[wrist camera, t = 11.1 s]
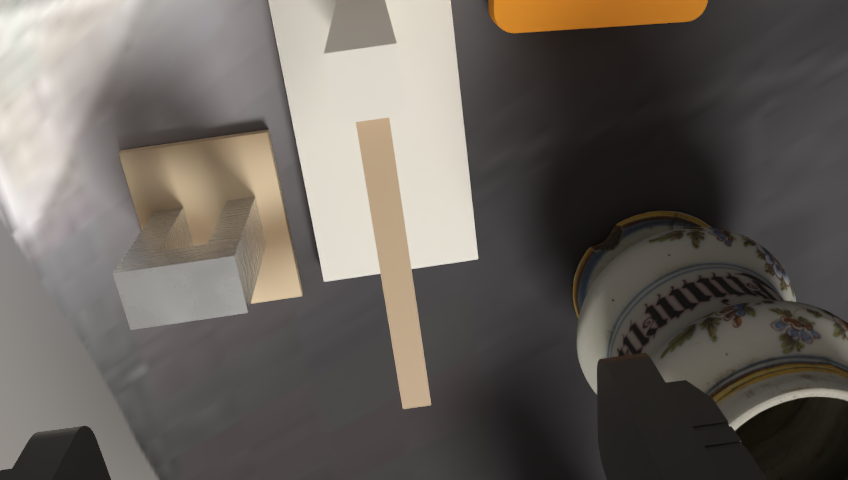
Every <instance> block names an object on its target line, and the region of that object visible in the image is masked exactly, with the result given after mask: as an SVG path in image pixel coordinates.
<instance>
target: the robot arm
mask: <svg viewBox="0 0 848 480" xmlns="http://www.w3.org/2000/svg"><path fill="white" fill-rule="evenodd" d="M597 413H598V444H599V451H600V456H601V461H602V465H603V469H604V472H605V475H606V478H607V480H768V479H767V478H766V476H765V475H764V474H763V472H762V471H761V469H760V468H759V466H758V465H757V463H756V462H755V460H754V459H753V457H752V456H751V454H750V453H749V451H748V450H747V448H746V447H745V446H742V442H741V440H740V438H739V437H738V435H737V434H736V432H735V431H734V429H733V428H732V426H730V427H729V423H728V420H727V419H726V417H725V416H724V414H723V413H722V412H721V410H720V409H719V407H718V406H717V404H716V403H715V401H714V400H713V398H711V397H710V396H708V395H707V394H705V393H704V392H703V391H701V390H700V389H698V388H697V387H695V386H694V385H692V384H691V383H689V382H688V381H686V380H682V381H674V382H667V383H666V382H665V381H664V379H663V377H662V376H661V374H660V372H659V371H658V369H657V367H656V366H655V364H654V363H653V361H652V359H651V358H650V356H649V355H648V354H647V353H640V354H632V355H625V356H617V357H610V358H602V359H599V360H598V364H597ZM0 480H111V478H110V476H109V473H108V470H107V467H106V465H105V462H104V459H103V457H102V453H101V451H100V448H99V445H98V443H97V440H96V437H95V435H94V433H93V431H92V430H91V429H90V428H89V427H87V426H81V427H74V428H66V429H59V430H51V431H44V432H37V433H35V434H34V435H33V436H32V437H31V438H30V440H29V441H28V443H27V444H26V446H25V448H24V449H23V451H22V453H21V455H20V456H19V458H18V460H17V461H16V463H15V465H14V466H13V468H12V469H7V470H1V471H0Z"/></svg>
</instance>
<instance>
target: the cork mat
mask: <svg viewBox="0 0 848 480" xmlns="http://www.w3.org/2000/svg"><path fill="white" fill-rule="evenodd" d="M119 156H120V159H121V163H122V166H123V170H124V173H125V176H126V180H127V183H128V187H129V190H130V193H131V197H132V200H133V204H134V207H135V210H136V214H137V217H138V221H139V224H140V227H141V231H142V229H143V228H144V226H145V225H146V223H147V222H148V220H149V219H150V217H151V216H152V214H153V213H154V211H159V210H166V209H173V208H179V207H184V210H185V214H186V218H187V222H188V225H189V229H190V233H191V237H192V240H193V244H194V246H195V245H202V244H207V243H208V241H209V239H210V237H211V234H212V232H213V230H214V228H215V226H216V223H217V221H218V219H219V217H220V214H221V212H222V210H223V208H224V206H225V203H226V201H228V200H235V199H242V198H249V197H256V201H257V206H258V210H259V215H260V219H261V224H262V228H263V232H264V237H265V241H266V249H265V253H264V256H263V260H262V264H261V267H260V271H259V275H258V278H257V282H256V286H255V289H254V293H253V297H252V300H251V304H252V303H258V302H265V301H272V300H279V299H286V298H292V297H299V296H302V293H303V290H302V285H301V281H300V276H299V271H298V266H297V262H296V257H295V252H294V248H293V243H292V238H291V233H290V229H289V224H288V219H287V214H286V210H285V205H284V200H283V195H282V191H281V186H280V181H279V176H278V172H277V167H276V162H275V158H274V153H273V148H272V143H271V139H270V134H269V129H267V130H260V131H253V132H246V133H239V134H232V135H225V136H218V137H211V138H204V139H197V140H190V141H183V142H176V143H169V144H162V145H155V146H148V147H141V148H134V149H127V150H122V151H121V152H120V153H119Z"/></svg>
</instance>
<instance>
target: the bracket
mask: <svg viewBox="0 0 848 480" xmlns="http://www.w3.org/2000/svg"><path fill="white" fill-rule="evenodd" d="M707 3H708V0H488V6H489V14H490V17H491V19H492V20H493V22H494V23H495V24H497V25H498V26H499V27H500V28H501V29H503V30H504V31H506V32H509V33H525V32H540V31H555V30H570V29H586V28H601V27H616V26H631V25H646V24H661V23H676V22H688V21H692V20H694V19H696V18H698V17H699V16H700V15H701V14H702V13H703V11H704V10H705V8H706V6H707Z"/></svg>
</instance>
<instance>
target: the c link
mask: <svg viewBox="0 0 848 480" xmlns="http://www.w3.org/2000/svg"><path fill="white" fill-rule="evenodd" d="M265 249H266V241H265V237H264V232H263V228H262V224H261V219H260V215H259V210H258V206H257V201H256V197H249V198H242V199H235V200H228V201H226V203H225V206H224V208H223V210H222V212H221V214H220V217H219V219H218V221H217V223H216V226H215V228H214V230H213V232H212V234H211V237H210V239H209V241H208V243H207V244H202V245H195V246H194V244H193V240H192V237H191V233H190V229H189V225H188V222H187V218H186V214H185V210H184V207H179V208H173V209H166V210H159V211H154V213H153V214H152V216H151V217H150V219H149V220H148V222H147V223H146V225H145V226H144V228H143V229H142V231H141V232H140V234H139V235H138V237H137V238H136V240H135V241H134V243H133V244H132V246H131V247H130V249H129V250H128V252H127V253H126V255H125V256H124V258H123V259H122V261H121V262H120V264H119V265H118V267H117V268H116V270H115V271H114V273H113V276H114V279H115V282H116V285H117V288H118V291H119V294H120V298H121V301H122V304H123V307H124V310H125V313H126V317H127V320H128V323H129V326H130V329H131V330H134V329H141V328H147V327H154V326H161V325H168V324H175V323H181V322H188V321H195V320H202V319H209V318H215V317H222V316H229V315H236V314H243V313H248V311H249V308H250V304H251V300H252V297H253V293H254V289H255V286H256V282H257V278H258V275H259V271H260V267H261V264H262V260H263V256H264V253H265Z"/></svg>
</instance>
